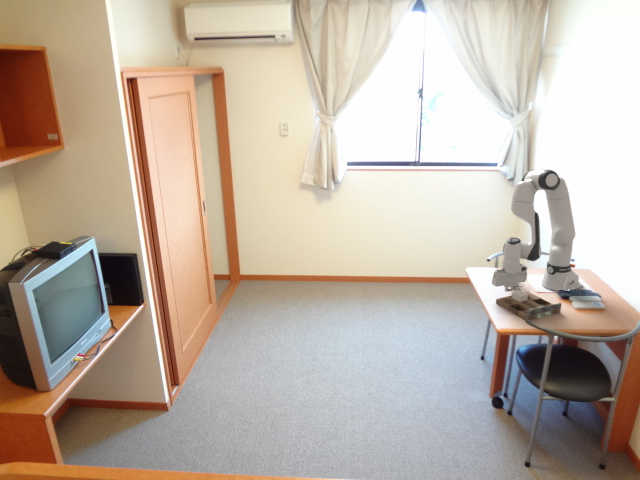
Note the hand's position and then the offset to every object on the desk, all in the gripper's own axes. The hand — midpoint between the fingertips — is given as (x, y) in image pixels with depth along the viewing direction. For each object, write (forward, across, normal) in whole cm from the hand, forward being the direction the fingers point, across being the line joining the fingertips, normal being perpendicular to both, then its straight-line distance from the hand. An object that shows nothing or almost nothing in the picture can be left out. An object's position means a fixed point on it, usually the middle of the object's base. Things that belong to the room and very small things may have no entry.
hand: (507, 291), depth 260 cm
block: (+1, +1, -8) cm, 8 cm away
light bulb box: (+4, +14, +16) cm, 21 cm away
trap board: (+4, +1, -14) cm, 15 cm away
